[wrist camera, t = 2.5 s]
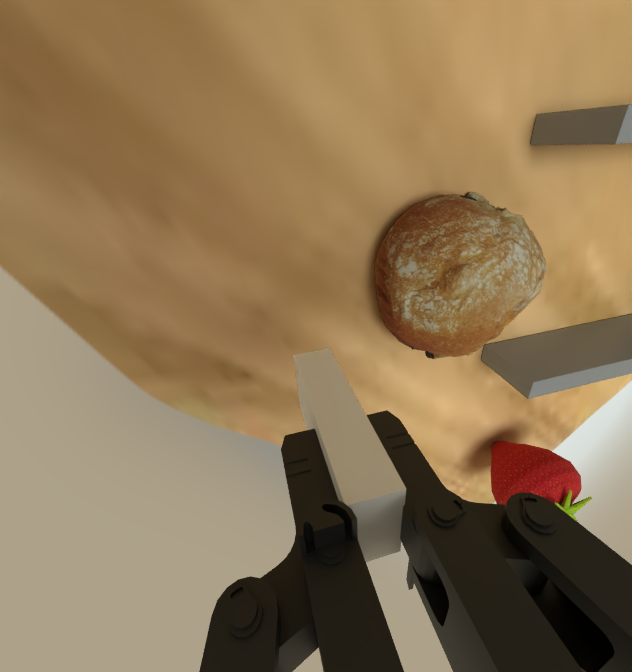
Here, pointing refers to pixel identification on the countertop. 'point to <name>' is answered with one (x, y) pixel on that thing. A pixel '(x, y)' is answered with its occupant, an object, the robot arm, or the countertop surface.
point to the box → (582, 340)
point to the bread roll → (456, 274)
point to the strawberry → (534, 475)
